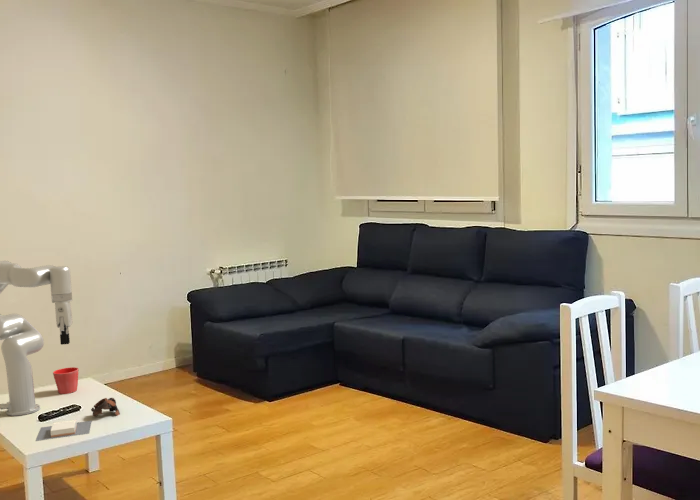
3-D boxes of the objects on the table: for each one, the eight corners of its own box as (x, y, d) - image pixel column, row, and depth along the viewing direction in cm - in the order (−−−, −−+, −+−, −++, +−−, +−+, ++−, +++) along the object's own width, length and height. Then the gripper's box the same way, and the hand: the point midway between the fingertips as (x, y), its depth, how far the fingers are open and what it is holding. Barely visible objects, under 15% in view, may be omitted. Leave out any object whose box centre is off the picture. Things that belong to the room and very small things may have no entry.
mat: (35, 442, 262) (35, 440, 262) (41, 429, 277) (40, 427, 277) (89, 435, 266) (89, 433, 266) (91, 422, 282) (91, 420, 282)
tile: (54, 428, 274) (51, 437, 264) (53, 422, 274) (50, 430, 264) (76, 425, 276) (74, 434, 267) (76, 419, 276) (74, 427, 266)
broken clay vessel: (117, 420, 283) (104, 404, 281) (98, 431, 285) (85, 415, 283) (127, 404, 295) (114, 388, 292) (108, 414, 296) (95, 398, 294)
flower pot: (49, 395, 325) (47, 373, 324) (63, 388, 335) (61, 367, 334) (72, 395, 323) (70, 373, 322) (85, 388, 334) (83, 366, 333)
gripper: (69, 299, 284) (73, 347, 286) (74, 294, 298) (77, 339, 300) (48, 301, 282) (52, 348, 284) (54, 295, 297) (57, 340, 298)
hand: (65, 343), depth 292 cm, fingers closed
